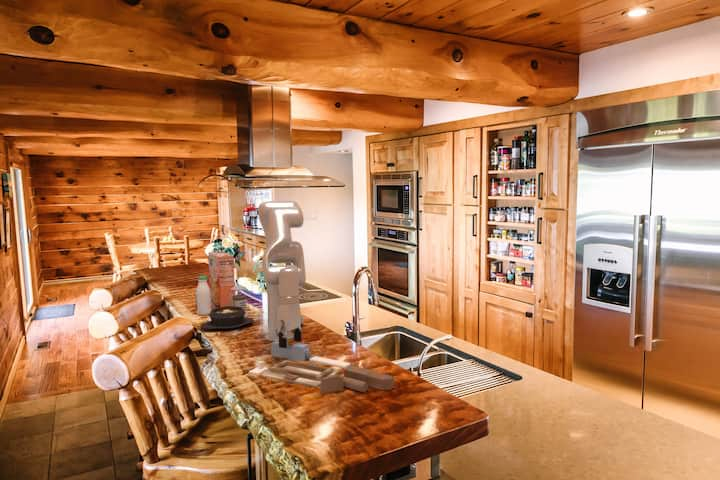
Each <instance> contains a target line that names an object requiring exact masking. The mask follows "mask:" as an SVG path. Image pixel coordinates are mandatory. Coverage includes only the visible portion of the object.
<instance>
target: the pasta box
mask: <svg viewBox="0 0 720 480" xmlns="http://www.w3.org/2000/svg"><path fill="white" fill-rule="evenodd" d="M208 278H209V288H210V292H211V307H212V308H213V309H215V308H218V307H225V306H230V305H231V299H233V298H232V294H231V293H233V295H236V293H235V292H236V291H232V290H231V288H232V287H234V286H236V285H235V258H234V255H232V254H230V253H227V252H225V251H212V252H211V251H210V252H208ZM230 294H231V295H230ZM229 296H230V298H229ZM229 301H230V304H229ZM233 302H235V301H233ZM234 305H235V304H234Z"/></svg>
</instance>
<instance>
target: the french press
mask: <svg viewBox="0 0 720 480" xmlns="http://www.w3.org/2000/svg"><path fill="white" fill-rule="evenodd" d="M240 269H241V268H240V267H239V266H238V267H236V268H235V270H237V271H239V270H240ZM231 290H232V291H235V292H237V293H238V294H235V295H233V293H231V294H232V298H233V299H231V305H230V306H237V307H242V308H243V309H244V311H245V312H246V314H245V315H244V317H247V316H248V315H250V313H249V312H248V311H247V307H248V306H247V298H246V295H245V294H240V292H239V291H245V290H247V287H246V286H245V285H244V286H243V285H239V282H237V285H235V286H234V287H232V288H231ZM231 294H230V295H231ZM229 298H230V296H229ZM233 301H235V302H233ZM229 304H230V301H229ZM234 304H235V305H234Z"/></svg>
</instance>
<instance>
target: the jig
mask: <svg viewBox="0 0 720 480" xmlns="http://www.w3.org/2000/svg"><path fill="white" fill-rule="evenodd" d="M341 371H342V370H341V369H339V368H333V367H328V366H322V365H321V366H320V363H317V362H313V361H308V362H307V363H305V362H302V361H296V360H295V361H294V360H290V359H285V360H283V361H281V362H279V363H277V364H275V365H273V366H271V367H270V370H268V371H266V372H264V373H262V375H261V376H262V377H264V378H269V379H273V380H279V381H284V382H288V383H293V384H298V385H303V386H308V387H312V388H318V387H321V380H322V379H324V378H326V377H328V376H330V375H339V373H340V372H341Z"/></svg>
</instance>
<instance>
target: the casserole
mask: <svg viewBox="0 0 720 480" xmlns="http://www.w3.org/2000/svg"><path fill="white" fill-rule="evenodd" d="M245 314H246V312H245V311H244V309H243V308H242V307H237V306H225V307H218V308H213V309H212V308H211V312H210V314H208V317H209V318H210V321H206V322H202V323H200V328H202V329H205V330H221V331H222V330H226V331H227V330H234V329H237V328H240V327H242V326H245V325H250V324H252V323H254V322H255V320H254V319H253V318H252V317H249V316H244V315H245Z"/></svg>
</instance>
